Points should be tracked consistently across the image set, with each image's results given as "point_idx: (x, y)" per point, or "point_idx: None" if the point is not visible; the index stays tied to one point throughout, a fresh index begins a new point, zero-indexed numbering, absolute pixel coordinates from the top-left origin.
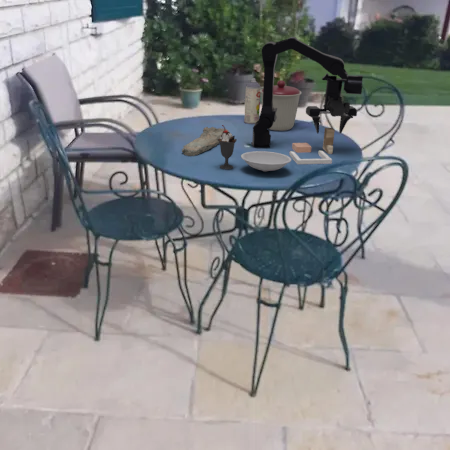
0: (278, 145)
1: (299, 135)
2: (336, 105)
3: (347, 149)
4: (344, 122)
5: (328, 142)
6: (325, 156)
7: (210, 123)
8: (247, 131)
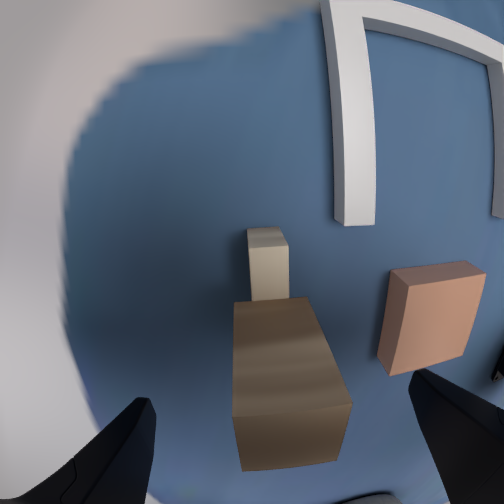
0: (471, 366)
1: (316, 486)
2: None
3: (113, 332)
4: (69, 493)
5: (285, 311)
6: (363, 60)
7: None
8: None
